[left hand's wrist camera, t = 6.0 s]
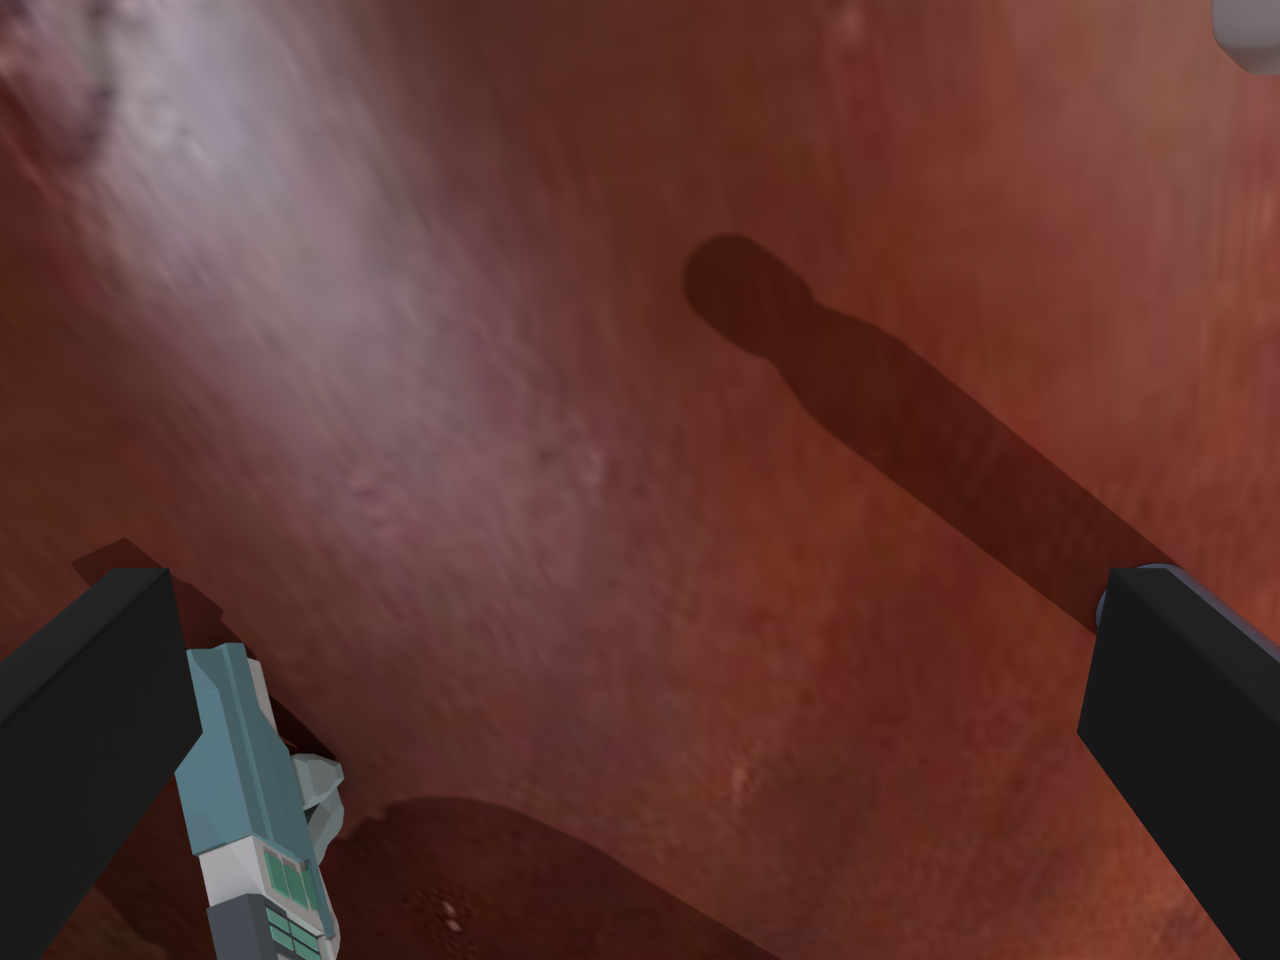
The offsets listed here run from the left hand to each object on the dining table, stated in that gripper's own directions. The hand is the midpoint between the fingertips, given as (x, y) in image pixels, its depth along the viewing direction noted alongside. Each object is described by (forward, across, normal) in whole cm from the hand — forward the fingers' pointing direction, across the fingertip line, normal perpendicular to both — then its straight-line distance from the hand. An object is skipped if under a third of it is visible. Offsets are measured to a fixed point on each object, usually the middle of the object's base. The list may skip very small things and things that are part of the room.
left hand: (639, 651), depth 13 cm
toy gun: (+28, +18, +23) cm, 40 cm away
